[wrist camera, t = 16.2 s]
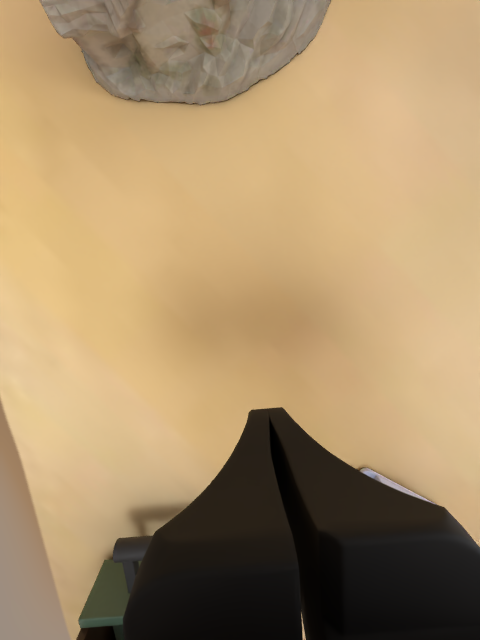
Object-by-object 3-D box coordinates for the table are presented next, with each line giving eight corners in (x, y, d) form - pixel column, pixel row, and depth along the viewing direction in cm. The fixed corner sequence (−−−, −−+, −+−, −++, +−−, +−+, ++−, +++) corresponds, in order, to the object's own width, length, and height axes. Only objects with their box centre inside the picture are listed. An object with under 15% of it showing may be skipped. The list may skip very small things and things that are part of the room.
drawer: (95, 517, 23) (64, 572, 19) (249, 504, 23) (251, 557, 19) (131, 677, 26) (112, 752, 22) (264, 667, 26) (269, 740, 22)
